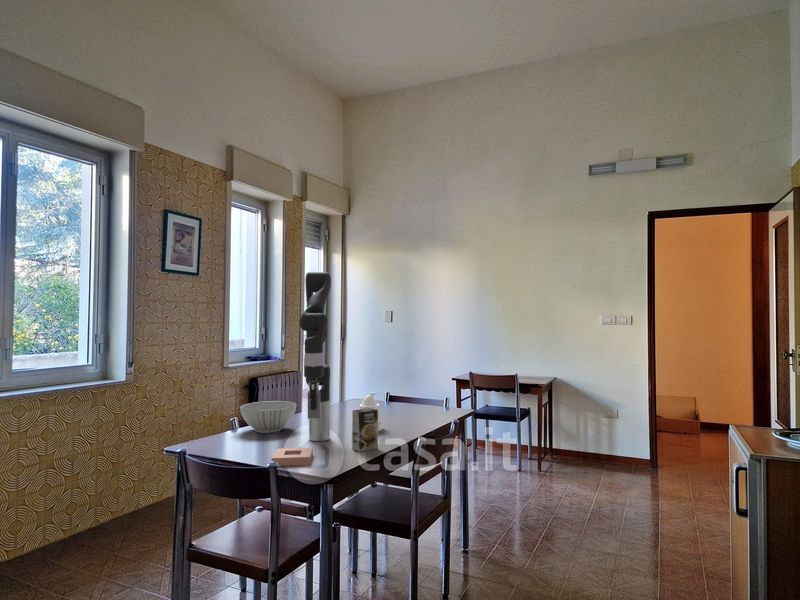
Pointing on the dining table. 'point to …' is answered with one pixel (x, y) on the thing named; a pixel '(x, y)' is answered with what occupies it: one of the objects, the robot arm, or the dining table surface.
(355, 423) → the coffee box
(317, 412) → the plug
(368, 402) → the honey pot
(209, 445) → the dining table surface
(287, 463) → the socket
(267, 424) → the decorative bowl
